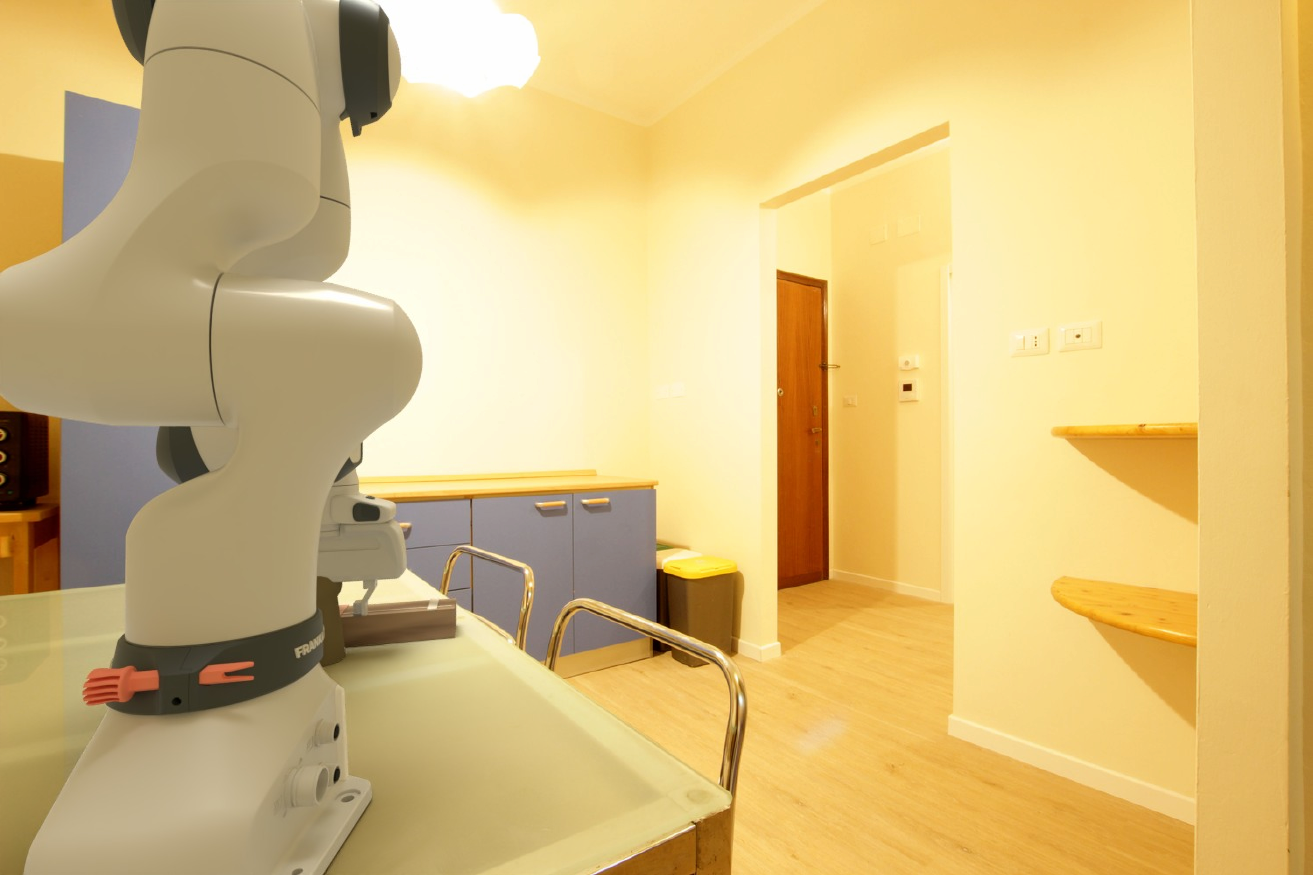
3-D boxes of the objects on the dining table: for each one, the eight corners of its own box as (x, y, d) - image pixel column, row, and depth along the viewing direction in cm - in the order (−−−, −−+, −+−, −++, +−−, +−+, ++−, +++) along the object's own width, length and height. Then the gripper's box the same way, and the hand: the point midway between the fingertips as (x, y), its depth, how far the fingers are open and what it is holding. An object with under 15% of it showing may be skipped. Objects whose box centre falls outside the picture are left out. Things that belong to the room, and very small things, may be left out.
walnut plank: (454, 637, 84) (454, 607, 84) (292, 651, 78) (292, 619, 79) (456, 625, 90) (456, 596, 90) (305, 637, 84) (305, 607, 84)
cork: (304, 671, 71) (304, 578, 72) (282, 661, 75) (282, 572, 75) (355, 657, 76) (355, 570, 76) (332, 647, 80) (332, 564, 80)
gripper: (213, 513, 70) (212, 633, 70) (403, 507, 76) (402, 618, 76) (234, 508, 76) (233, 618, 76) (408, 503, 82) (408, 605, 82)
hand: (319, 618), depth 76 cm, fingers open, 8 cm apart
